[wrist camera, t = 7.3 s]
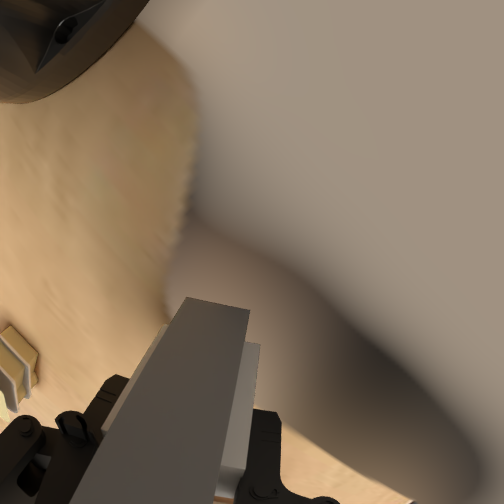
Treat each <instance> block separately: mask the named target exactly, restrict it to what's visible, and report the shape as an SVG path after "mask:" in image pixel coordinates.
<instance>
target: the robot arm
mask: <svg viewBox="0 0 504 504" xmlns="http://www.w3.org/2000/svg"><path fill="white" fill-rule="evenodd" d="M148 1H149V0H0V103H13V104H23V103H29V102H33V101H36V100H39V99H41V98H44V97H46V96H48V95H50V94H52V93H53V92H55V91H57V90H59V89H60V88H62V87H63V86H65V85H66V84H68V83H69V82H70V81H72V80H73V79H75V78H76V77H77V76H78V75H80V74H81V73H82V72H83V71H85V70H86V69H87V68H88V67H89V66H90V65H92V64H93V63H94V62H95V61H96V60H97V59H98V58H99V57H100V56H101V55H102V54H103V53H104V52H105V51H107V49H108V48H109V47H110V46H111V45H112V44H113V43H114V42H115V41H116V40H117V39H118V38H119V37H120V36H121V35H122V34H123V33H124V31H125V30H126V29H127V28H128V27H129V26H130V25H131V23H132V22H133V21H134V20H135V19H136V17H137V16H138V15H139V14H140V12H141V11H142V10H143V8H144V7H145V6H146V4H147V3H148ZM168 326H169V325H168V324H164V325H163V326H162V328H161V330H160V331H159V333H158V334H157V336H156V337H155V339H154V341H153V342H152V344H151V346H150V347H149V349H148V350H147V352H146V354H145V355H144V357H143V358H142V360H141V362H140V363H139V365H138V367H137V368H136V370H135V372H134V373H133V375H132V376H131V378H130V379H129V378H126V377H123V376H120V375H117V374H115V375H113V376H112V377H110V378H109V379H107V380H106V381H105V382H104V384H103V385H102V387H101V388H100V391H98V393H97V394H96V396H95V397H94V399H93V400H92V402H91V403H90V405H89V406H88V408H87V409H86V411H85V412H84V414H82V413H80V412H77V411H66V412H63V413H61V414H59V415H58V416H57V417H56V419H55V422H56V424H57V426H58V428H59V429H55V428H50V427H45V426H41V424H40V422H39V421H38V420H37V419H36V418H34V417H32V416H30V415H22V416H18V417H17V418H15V419H14V420H13V421H12V422H11V423H10V424H9V425H8V426H7V427H6V429H5V430H4V431H3V432H2V433H1V434H0V504H69V503H70V501H71V499H72V497H73V495H74V493H75V491H76V489H77V487H78V485H79V484H80V482H81V480H82V478H83V476H84V474H85V472H86V470H87V468H88V466H89V465H90V463H91V461H92V459H93V457H94V455H95V453H96V451H97V450H98V448H99V446H100V444H101V442H102V440H103V439H104V437H105V435H106V433H107V431H108V430H109V428H110V426H111V424H112V422H113V421H114V419H115V417H116V415H117V413H118V412H119V410H120V408H121V406H122V405H123V403H124V401H125V399H126V398H127V396H128V394H129V392H130V391H131V389H132V387H133V385H134V384H135V382H136V380H137V379H138V377H139V375H140V373H141V372H142V370H143V368H144V367H145V365H146V363H147V361H148V360H149V358H150V356H151V355H152V353H153V351H154V350H155V348H156V346H157V345H158V343H159V341H160V340H161V338H162V336H163V335H164V333H165V331H166V330H167V328H168ZM259 351H260V344H255V343H250V342H245V341H244V346H243V351H242V357H241V362H240V367H239V373H238V378H237V383H236V388H235V394H234V399H233V404H232V409H231V414H230V420H229V425H228V430H227V435H226V440H225V445H224V450H223V455H222V461H221V466H220V471H219V476H218V481H217V486H216V491H215V496H220V497H226V498H232V499H234V501H233V504H340V503H339V502H338V501H337V500H335V499H333V498H331V497H325V496H320V497H316V498H313V499H309V498H306V497H303V496H300V495H297V494H295V493H293V492H291V491H289V490H288V489H287V488H286V487H285V486H284V485H283V484H282V481H281V478H280V461H281V425H282V422H281V420H280V418H279V416H278V414H277V412H272V411H265V410H258V409H253V404H254V396H255V387H256V378H257V369H258V360H259Z"/></svg>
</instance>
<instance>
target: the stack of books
mask: <svg viewBox="0 0 504 504" xmlns="http://www.w3.org/2000/svg"><path fill="white" fill-rule="evenodd" d="M37 356H38V353H37V352H36V351H35V350H34V349H33V348H32V347H31V346H30V345H29V344H28V343H27V342H26V341H25V340H24V339H23V338H22V337H21V336H20V335H19V333H18V332H17V331H16V330H15V329H14V328H13V327H12V326H9V327H8V328H7V329H6V330H4V331H3V332H2V333H1V334H0V417H1V418H2V419H3V420H4V421H6V422H10V419H9V415H8V411H7V408H8V409H9V410H10V411H12V412H14V413H17V412H18V411H19V403H20V402H21V400H22V399H23V398H26V399H29V398H30V397H31V395H32V394H31V389H32V388H33V387H34V385H35V384H36V383H37V382H38V379H37V376H36V374H35V372H34V368H35V364H36V360H37Z"/></svg>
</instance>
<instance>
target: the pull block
mask: <svg viewBox="0 0 504 504" xmlns="http://www.w3.org/2000/svg"><path fill="white" fill-rule="evenodd" d="M249 314H250V310H247V309H241V308H237V307H232V306H227V305H222V304H217V303H212V302H208V301H203V300H198V299H193V298H189V297H186V299H185V300H184V302H183V304H182V305H181V307H180V308H179V310H178V312H177V313H176V315H175V316H174V318H173V320H172V321H171V323H170V325H169V326H168V328H167V330H166V331H165V333H164V335H163V336H162V338H161V340H160V341H159V343H158V345H157V346H156V348H155V350H154V351H153V353H152V355H151V356H150V358H149V360H148V361H147V363H146V365H145V367H144V368H143V370H142V372H141V373H140V375H139V377H138V379H137V380H136V382H135V384H134V385H133V387H132V389H131V391H130V392H129V394H128V396H127V398H126V399H125V401H124V403H123V405H122V406H121V408H120V410H119V412H118V413H117V415H116V417H115V419H114V421H113V422H112V424H111V426H110V428H109V430H108V431H107V433H106V435H105V437H104V439H103V440H102V442H101V444H100V446H99V448H98V450H97V451H96V453H95V455H94V457H93V459H92V461H91V463H90V465H89V466H88V468H87V470H86V472H85V474H84V476H83V478H82V480H81V482H80V484H79V485H78V487H77V489H76V491H75V493H74V495H73V497H72V499H71V501H70V503H69V504H213V501H214V496H215V491H216V486H217V481H218V476H219V471H220V466H221V461H222V455H223V450H224V445H225V440H226V435H227V430H228V425H229V420H230V414H231V409H232V404H233V399H234V394H235V388H236V383H237V378H238V373H239V367H240V362H241V357H242V351H243V346H244V341H245V335H246V330H247V324H248V319H249Z"/></svg>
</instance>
